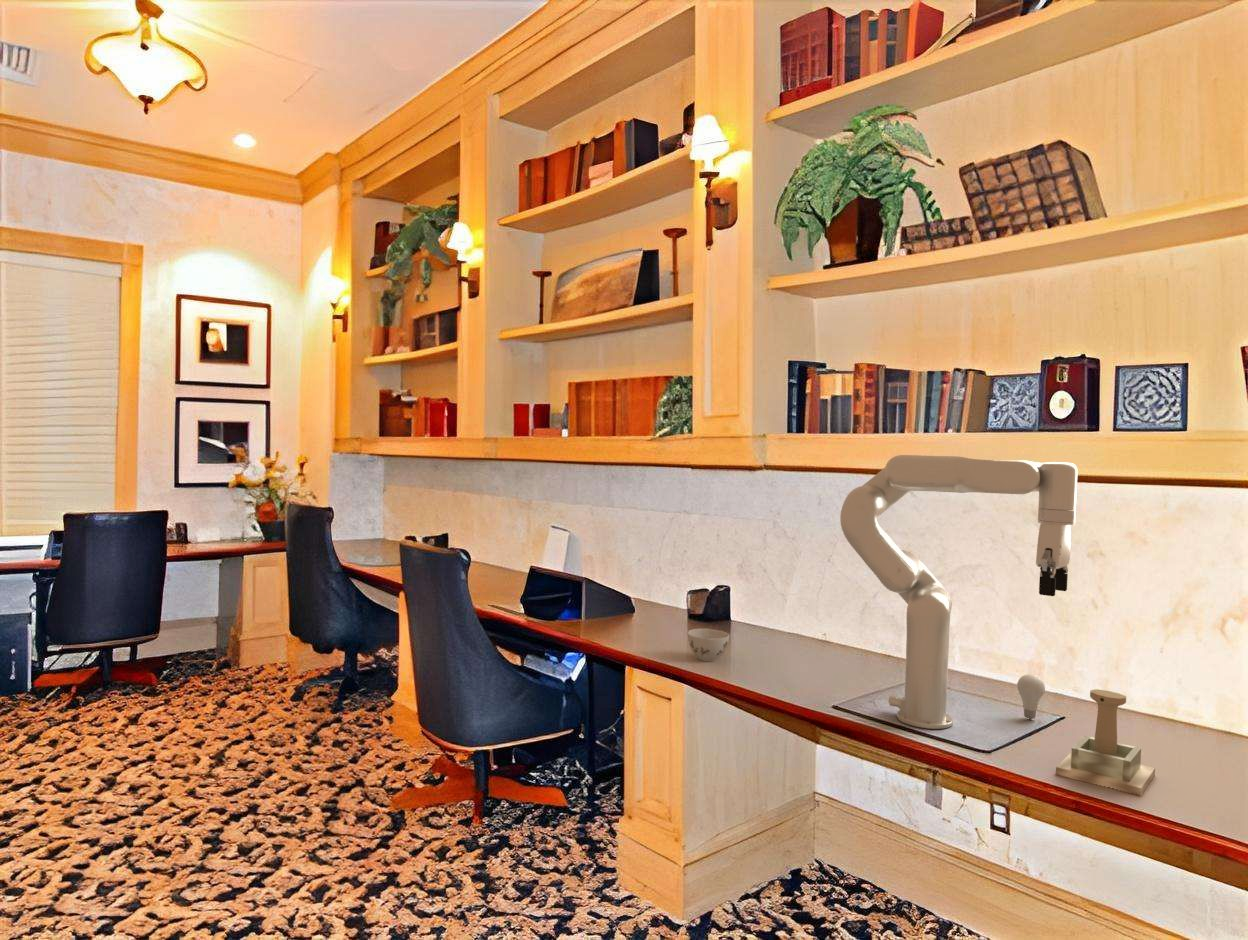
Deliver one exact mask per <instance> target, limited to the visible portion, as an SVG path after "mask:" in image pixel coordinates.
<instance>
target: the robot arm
mask: <svg viewBox="0 0 1248 940" xmlns="http://www.w3.org/2000/svg"><path fill="white" fill-rule="evenodd" d="M1077 485H1078V467H1077V466H1076V464H1075V463H1071V462H1058V461H1056V462H1055V461H1052V462H1051V461H1050V462H1048V461H1047V462H1035V461H1031V460H1030V461H1029V460H1023V459H1019V460H1010V459H1009V460H1005V459H1004V460H1003V459H1002V460H1001V459H999V460H998V459H978V458H977V459H976V458H968V457H964V456H957V455H920V454H919V455H918V454H917V455H916V454H915V455H914V454H899V455H896V456H895V455H894V456H892V457H891V458H890V459H889V460H888V461H887V463H886V464H885V466H884V468H882V469H881V470H880V471H879V472H878V473H877V474H875V475H874V476H873V477H872V478H870V479H869V480H868V481H867V482H865V483H864V484H863V485H861V486H858V487H856V488H854V489H852V490H851V491H850V492H849V493H848V494H847V496H846V497H845V498H844V501H843V503H842V507H841V510H840V517H839V518H840V519H839V520H840V526H841V531H842V532H843V535H844V538H845V539H846V540H847V542H848V544H849V545H850V546H851V547H852V549H853V550H854V551H855V552H856V553H857V555H858V556H859V557H860V558H861V560H862V561H863V562H864V564H866V566H867V567H868V568H869V569H870V571H871V572H873V575H875V576H876V578H877V579H878V580H879V582H880V583H881V584H882V585H883V587H884V588H886V589H887V590H889V591H891V592H892V593H893V592H894V593H897V594H898V595H899V596H900V597H901V599H902V600H904V602H905V603H906V604H907V607H906V643H905V647H906V649H905V671H904V672H905V673H904V674H905V677H904V696H903V697H902V698H901V697H898V696H896V695H889V697H888V704H889V706H891V707H896V708H898V709H899V710H898V711H897V713H896V717H897V720H898V721H900V722H902V723H904V724H906V725H909V726H913V727H917V728H922V729H929V730H930V729H932V730H939V729H940V730H942V729H947V728H950V727H952V726H953V724H954V719H953V717H951V715H949V714H947V702H948V701H947V697H948V678H949V677H948V675H949V673H948V672H949V650H950V649H949V648H950V645H949V644H950V623H951V612H952V598H951V596H950V593H949V592H948V591H947V590H946V589H945V587H944V586H943V584H941V583H940V582H939V580H938V579H937V578H936V577H935V576H934V574H933V573H932V572H931V571H930V570H929V569H928V568H927V567H926V565H925V564H924V563H923V562H922V561H921V560H920V559H919V558H918V557H917V556H916V555H915V554H913V553H912V552H910V551H907V550H904V549H901V548H900V547H899V546H898V545H897V544H896V542H895V541H894V540H893V539H892V538H891V536H890V535H889V534H888V533H887V532H886V531H885V530H884V529H883V528H882V527H881V526H880V524H879V522H878V520H877V519H878V517H880V516H881V515H882V514H883V513H884V512H886V511H887V510H888V509H889V508H891V506H893V505H895V504H896V503H897V502H898V501H900V499H902V498H903V497H904V496H905V495H906V494H908V493H909V492H910V491H914V492H915V491H916V492H936V493H937V492H939V493H940V492H941V493H956V494H957V493H959V494H965V493H981V494H982V493H983V494H985V493H986V494H1002V495H1003V494H1005V495H1027V494H1029V493H1035V492H1038V506H1037V508H1038V510H1037V512H1038V513H1037V523H1039V524H1040V525H1039V528H1038V529H1039V531H1038V535H1037V544H1036V545H1037V546H1036V557H1035V558H1036V559H1035V565H1036V566H1037V567H1038V568H1039V569H1040V571H1039V582H1038V587H1039V588H1038V594H1039V595H1040V596H1048V597H1055V596H1056V591H1060V592H1067V591H1068V577H1069V575H1068V571H1069V570H1068V569H1069V568H1068V566H1069V565H1070V559H1071V544H1072V542H1071V536H1072V535H1071V526H1075V524H1076V510H1077V507H1076V505H1077V491H1078V490H1077V489H1078V488H1077V487H1078V486H1077Z"/></svg>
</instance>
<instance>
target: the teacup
mask: <svg viewBox="0 0 1248 940" xmlns="http://www.w3.org/2000/svg"><path fill="white" fill-rule="evenodd" d="M687 638H688V644H689V646H690V647H689V648H690V650H691V651H692V652H693V654H694V656H695V657H696V658H697V659H698V660H700V661H703V662H715V661H717V660H718V659H719V658H720V657H721V656H723V654H725V651H726V649H727V647H728V645H729V642H730V634H729V633H727V632H726V631H724V630H717V629H712V628H694V629H690V630H688V632H687Z"/></svg>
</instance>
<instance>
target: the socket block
mask: <svg viewBox="0 0 1248 940" xmlns="http://www.w3.org/2000/svg"><path fill="white" fill-rule="evenodd" d="M1141 761H1142V747H1138V746H1134V745H1129V744H1124V743H1120V742H1117V750H1116V756H1112V755H1108V754H1103V753H1099V752H1095V737H1093V736H1088V735H1084V736H1082V737H1081V738H1080V739H1079V741H1077V742H1076V743H1075V744H1074V745H1073V746H1071V752H1070V753H1068V755H1067V756H1065V757H1064V758H1063V760H1062V761H1060V763H1058V764H1057V765H1056V766H1055V775H1058V776H1061V777H1065V778H1069V779H1073V780H1076V781H1081V782H1085V783H1088V784H1092V785H1096V784H1097V785H1096V786H1100V785H1101V786H1100V787H1104V786H1105V787H1104V788H1108V787H1110V788H1109V789H1112V788H1114V789H1113V790H1116V789H1118V790H1117V791H1120V790H1123V791H1122V792H1124V791H1126V792H1125V793H1128V792H1130V793H1129V794H1132V793H1133V795H1136V794H1137V795H1136V796H1140V795H1141V796H1142V795H1143V793H1144V792H1145V791H1146V789H1147V787H1148V786H1149V785H1150V783H1151V782H1152V780H1153V779H1154V777H1155V775H1156V768H1155V767H1152V766H1147V765H1143V764H1141Z"/></svg>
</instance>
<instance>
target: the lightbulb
mask: <svg viewBox="0 0 1248 940" xmlns="http://www.w3.org/2000/svg"><path fill="white" fill-rule="evenodd" d="M1016 688H1017V692H1018V694H1019V696H1020V697H1021V700H1022V706H1023V716H1024V717H1025V718H1026V719H1027V718H1029V719H1032V720H1033V719H1036V716H1037V710H1038V707H1039V706H1038V705H1039V702H1040V700H1041V699H1042V697H1043V695H1044V694H1045V693H1046V686H1045V683H1044V681H1043V679H1042V678H1041V677H1039V676H1038V675H1035V674H1032V673H1031V674H1030V673H1027V674H1024V675H1022V676H1021V677H1019V679H1018V681H1017V684H1016ZM1029 719H1028V720H1029Z"/></svg>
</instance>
